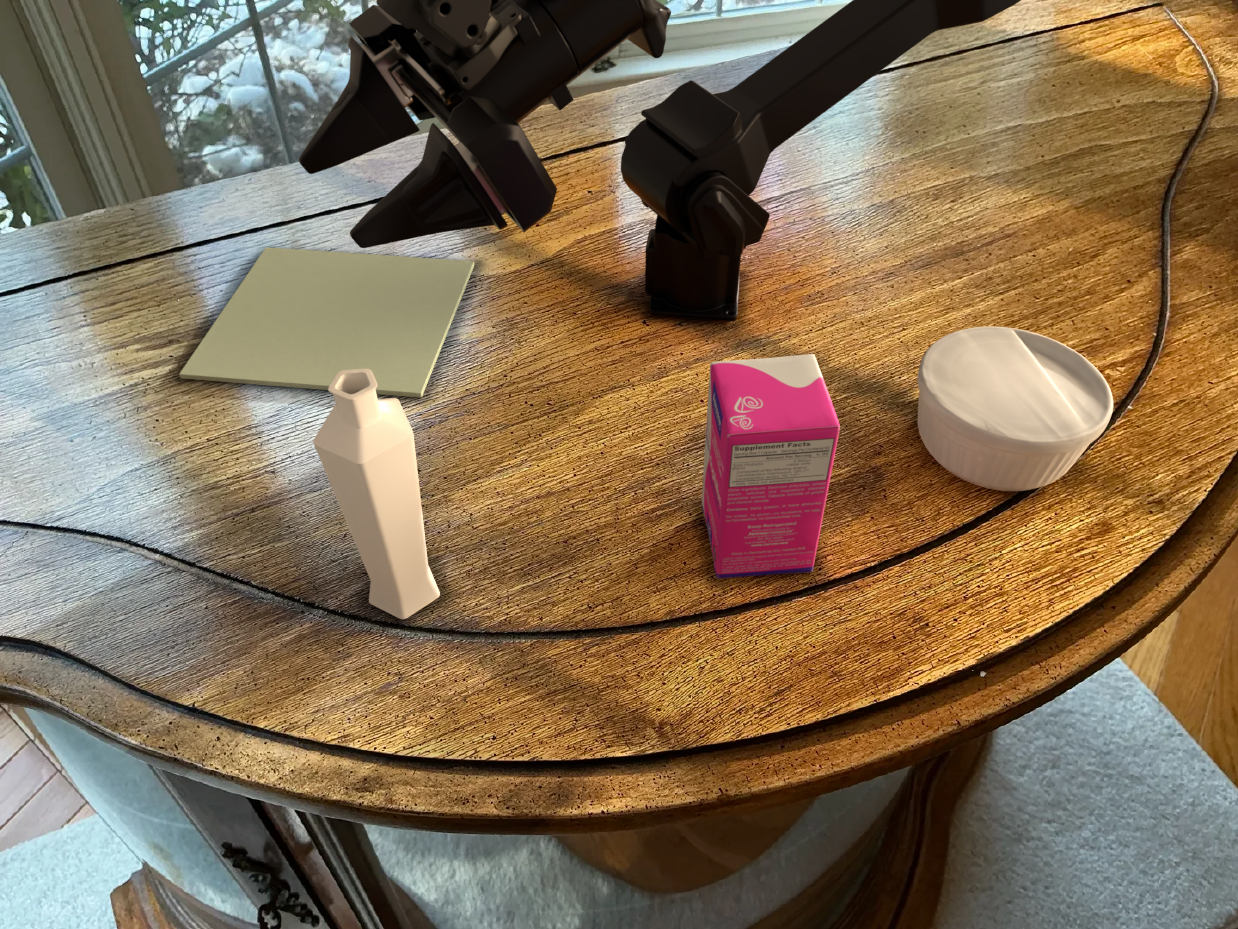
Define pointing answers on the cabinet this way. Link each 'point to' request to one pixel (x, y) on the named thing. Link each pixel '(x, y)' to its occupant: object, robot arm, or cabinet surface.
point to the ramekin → (1009, 406)
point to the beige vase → (378, 491)
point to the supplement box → (767, 464)
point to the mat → (333, 321)
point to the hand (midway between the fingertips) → (327, 202)
